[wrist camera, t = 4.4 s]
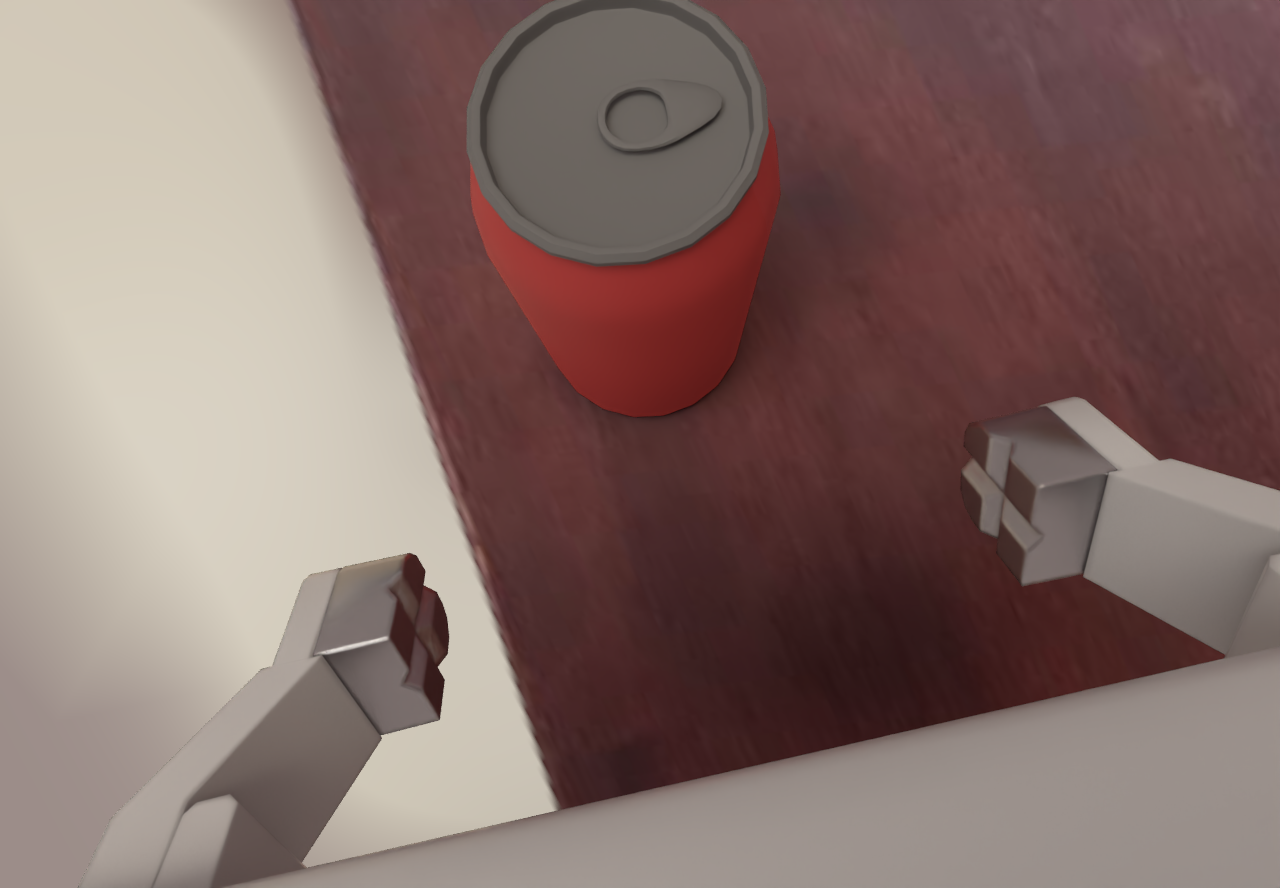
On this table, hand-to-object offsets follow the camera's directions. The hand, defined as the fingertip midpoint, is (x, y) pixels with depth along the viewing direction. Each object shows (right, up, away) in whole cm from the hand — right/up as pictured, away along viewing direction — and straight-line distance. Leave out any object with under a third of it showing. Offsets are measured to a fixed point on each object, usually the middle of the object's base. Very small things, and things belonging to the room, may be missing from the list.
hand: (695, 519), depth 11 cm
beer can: (-1, +5, +14) cm, 15 cm away
